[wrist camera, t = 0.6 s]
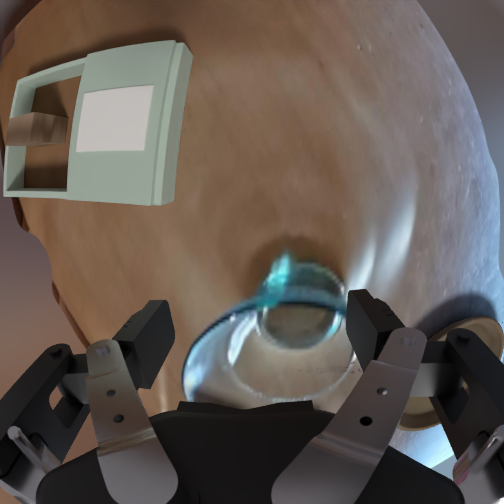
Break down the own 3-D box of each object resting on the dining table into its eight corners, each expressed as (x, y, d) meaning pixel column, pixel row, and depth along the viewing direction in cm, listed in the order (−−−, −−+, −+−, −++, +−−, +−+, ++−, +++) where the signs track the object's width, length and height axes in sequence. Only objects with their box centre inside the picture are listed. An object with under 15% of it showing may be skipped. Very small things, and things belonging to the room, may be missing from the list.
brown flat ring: (384, 435, 50) (389, 449, 46) (375, 347, 43) (383, 363, 39) (484, 383, 46) (492, 393, 42) (499, 284, 39) (512, 292, 34)
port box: (34, 84, 32) (13, 79, 26) (193, 56, 32) (181, 38, 26) (21, 193, 38) (-1, 197, 32) (173, 201, 38) (157, 206, 32)
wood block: (43, 122, 35) (9, 118, 26) (68, 117, 35) (33, 111, 26) (40, 146, 36) (5, 146, 27) (65, 143, 36) (29, 141, 27)
